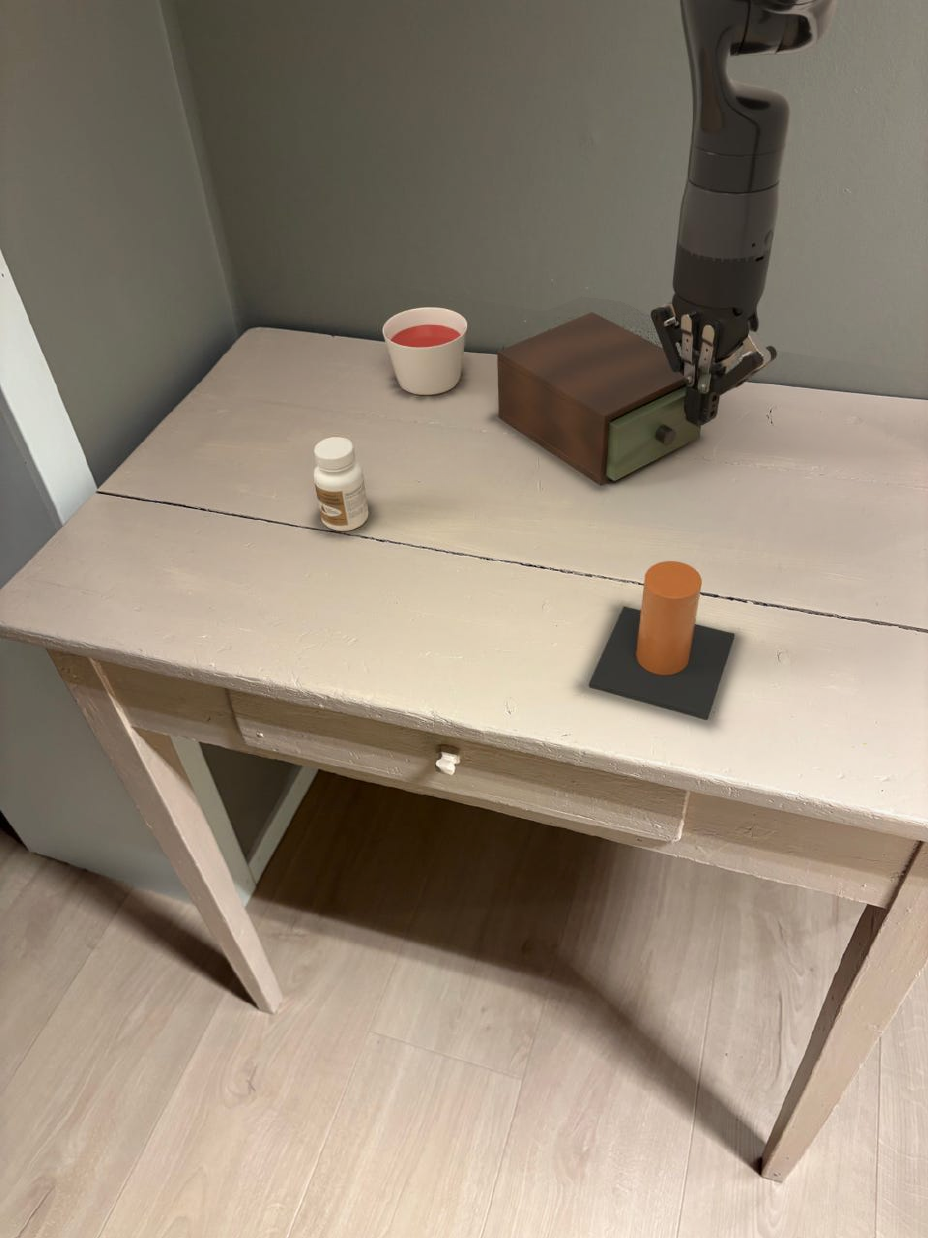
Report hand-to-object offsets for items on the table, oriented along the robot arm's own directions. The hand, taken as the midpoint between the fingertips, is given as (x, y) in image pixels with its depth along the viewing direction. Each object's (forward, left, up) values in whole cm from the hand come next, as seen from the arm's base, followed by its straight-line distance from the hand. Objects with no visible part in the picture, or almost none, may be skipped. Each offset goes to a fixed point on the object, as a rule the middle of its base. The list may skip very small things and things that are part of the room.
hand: (699, 420), depth 89 cm
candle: (+31, -6, -5) cm, 32 cm away
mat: (-4, +27, -5) cm, 27 cm away
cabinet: (+11, -3, -5) cm, 12 cm away
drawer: (+9, -2, -4) cm, 10 cm away
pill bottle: (+28, +19, -5) cm, 34 cm away
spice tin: (-4, +26, -4) cm, 27 cm away
